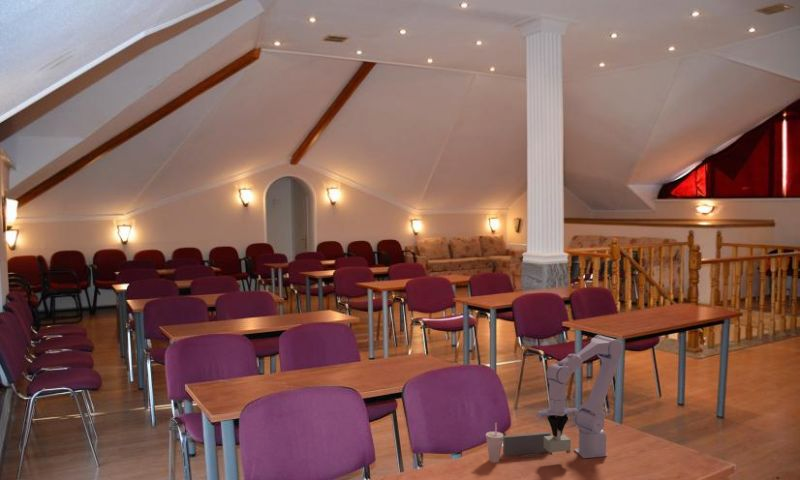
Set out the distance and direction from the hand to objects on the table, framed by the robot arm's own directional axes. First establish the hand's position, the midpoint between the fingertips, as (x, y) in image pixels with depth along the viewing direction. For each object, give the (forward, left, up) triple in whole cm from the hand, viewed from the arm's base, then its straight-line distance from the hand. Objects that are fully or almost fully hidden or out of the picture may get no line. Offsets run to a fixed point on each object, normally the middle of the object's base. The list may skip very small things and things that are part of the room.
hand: (556, 435), depth 244 cm
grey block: (0, 0, -6) cm, 6 cm away
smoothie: (+21, -7, -10) cm, 24 cm away
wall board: (+7, -9, -10) cm, 15 cm away
